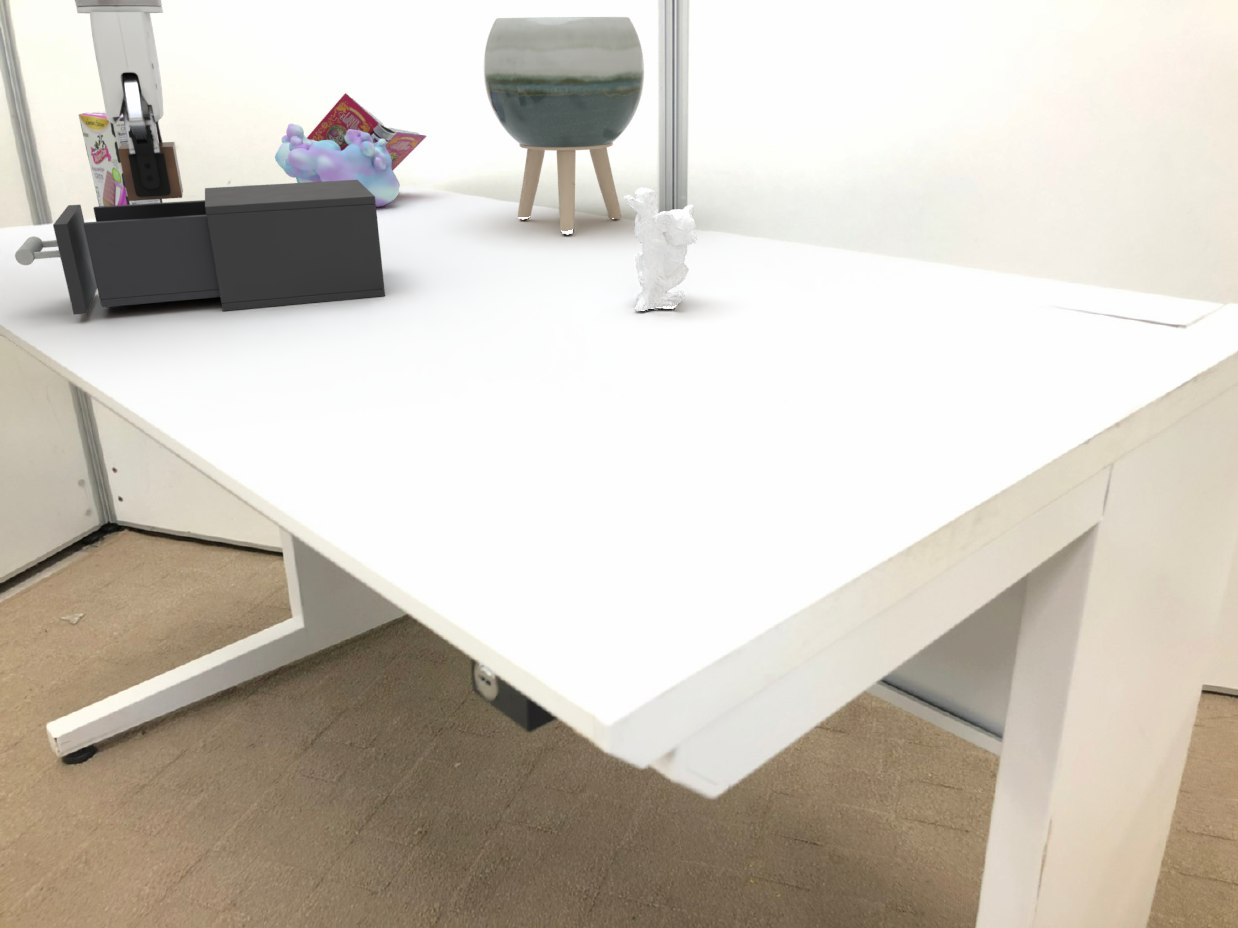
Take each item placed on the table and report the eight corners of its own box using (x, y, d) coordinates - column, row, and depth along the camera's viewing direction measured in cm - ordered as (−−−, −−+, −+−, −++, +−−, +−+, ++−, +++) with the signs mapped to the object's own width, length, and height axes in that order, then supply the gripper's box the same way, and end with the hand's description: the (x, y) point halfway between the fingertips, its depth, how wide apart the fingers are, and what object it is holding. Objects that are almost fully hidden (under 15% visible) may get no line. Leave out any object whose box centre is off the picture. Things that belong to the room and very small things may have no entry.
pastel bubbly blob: (262, 186, 152) (312, 78, 147) (266, 163, 170) (311, 67, 166) (385, 248, 161) (436, 148, 156) (377, 220, 179) (422, 129, 175)
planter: (657, 214, 154) (658, 17, 143) (625, 242, 135) (624, 16, 123) (520, 210, 159) (511, 19, 148) (470, 236, 139) (455, 18, 128)
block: (128, 201, 100) (117, 149, 98) (131, 194, 104) (121, 144, 102) (182, 197, 102) (172, 146, 100) (183, 191, 106) (174, 141, 104)
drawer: (24, 319, 97) (1, 228, 94) (42, 290, 108) (22, 207, 104) (239, 299, 104) (225, 213, 100) (236, 274, 114) (223, 196, 111)
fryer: (222, 311, 103) (204, 206, 99) (220, 282, 115) (204, 188, 110) (385, 296, 108) (375, 196, 104) (367, 270, 120) (357, 179, 116)
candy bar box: (102, 234, 142) (76, 113, 136) (137, 229, 146) (113, 110, 139) (135, 245, 135) (109, 117, 129) (171, 239, 139) (148, 114, 132)
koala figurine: (638, 318, 99) (638, 194, 94) (607, 303, 105) (605, 186, 100) (710, 308, 103) (713, 188, 98) (676, 294, 108) (678, 180, 103)
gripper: (83, -1, 102) (121, 183, 109) (63, -7, 87) (108, 206, 94) (163, -1, 104) (195, 179, 111) (156, -7, 89) (193, 201, 97)
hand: (154, 189), depth 103 cm, fingers closed on block, 5 cm apart
